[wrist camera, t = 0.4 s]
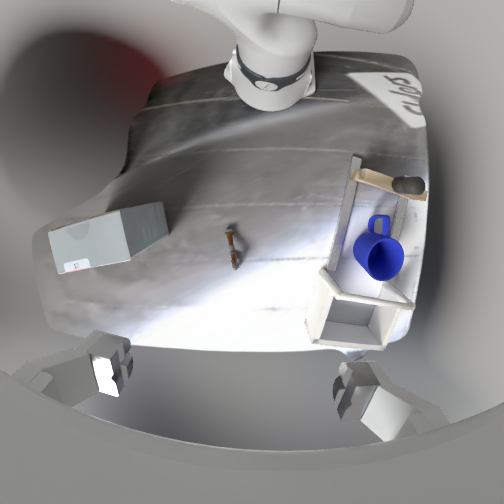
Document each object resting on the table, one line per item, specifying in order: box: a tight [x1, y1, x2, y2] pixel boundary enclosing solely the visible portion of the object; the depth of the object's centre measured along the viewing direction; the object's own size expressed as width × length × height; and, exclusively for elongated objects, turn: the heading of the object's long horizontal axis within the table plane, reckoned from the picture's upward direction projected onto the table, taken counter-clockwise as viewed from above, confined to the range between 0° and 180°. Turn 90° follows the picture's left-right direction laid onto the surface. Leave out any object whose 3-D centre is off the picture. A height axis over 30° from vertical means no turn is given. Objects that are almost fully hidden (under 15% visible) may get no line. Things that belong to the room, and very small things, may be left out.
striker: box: [350, 168, 428, 201], centre depth 44 cm, size 3×14×14 cm, turn 79°
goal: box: [304, 269, 416, 350], centre depth 51 cm, size 13×18×14 cm
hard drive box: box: [48, 201, 169, 274], centre depth 45 cm, size 16×8×20 cm, turn 100°
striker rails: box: [326, 156, 410, 281], centre depth 53 cm, size 24×15×1 cm, turn 168°
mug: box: [353, 215, 404, 281], centre depth 50 cm, size 8×12×10 cm
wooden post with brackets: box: [223, 229, 239, 270], centre depth 54 cm, size 2×8×4 cm, turn 13°
